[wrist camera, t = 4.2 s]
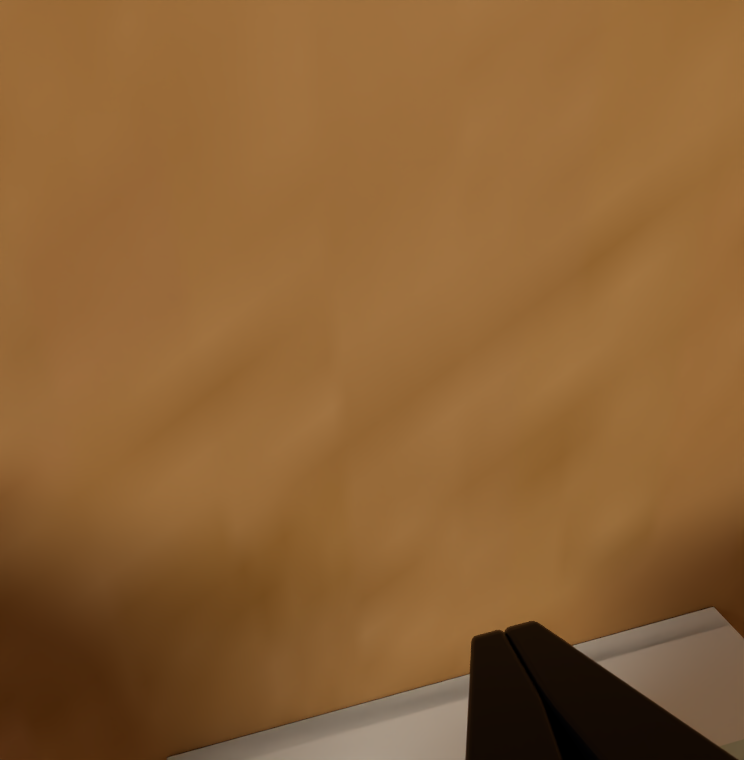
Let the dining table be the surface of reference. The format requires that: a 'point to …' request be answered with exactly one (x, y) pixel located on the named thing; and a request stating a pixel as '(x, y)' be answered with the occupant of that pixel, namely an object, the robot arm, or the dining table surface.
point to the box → (450, 698)
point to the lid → (735, 749)
